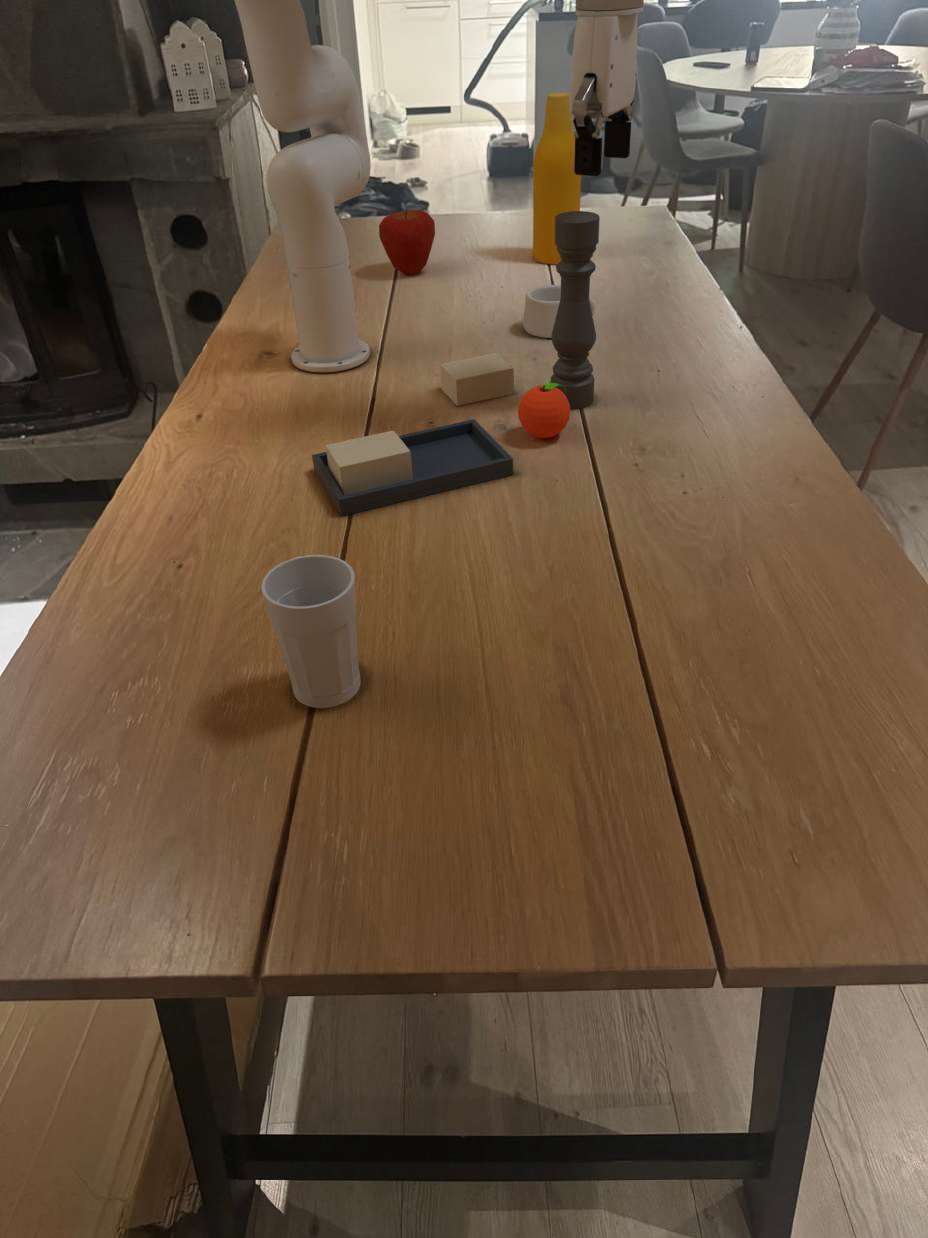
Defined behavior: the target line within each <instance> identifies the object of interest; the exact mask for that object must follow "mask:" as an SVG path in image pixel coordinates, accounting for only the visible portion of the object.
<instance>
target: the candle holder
mask: <svg viewBox="0 0 928 1238" xmlns="http://www.w3.org/2000/svg"><path fill="white" fill-rule="evenodd" d="M599 239H600V214H598V213H596V212H593V211H587V210H586V211H585V210H580V211H570V212H564V213H561V214H558V215H557V216H555V245H557V251H558V253H559V254H560V258H561V261H560V262H559V263H558V264H555V269H556V272H557V273H558V274H559V277H560V285H561V298H560V302H559V306H558V310H557V314H556V318H555V322H554V326H553V330H552V338H551V341H552V346H553V348H554V349H555V351H556V352H557V353H556V355H557V358H558V359H557V360H556V362H555V363H554V365H553V366H552V373H553V374H552V375H551V376H550V383H557V384H560V385H559V386H556V388H558V389H559V390H561V391H562V392H563V393H564V394H565V396H566V397H567V400H568V402H569V404H570V410H579V409H584V408H587V407H589V406H591V405H593V404H592V403H594V400H595V399H594V397H595V395H594V394H595V375H594V374H593V372H594V367H593V365H592V363H591V362H590V359H588V357H589V356H590V351H591V350H592V349H593V347H594V345H595V343H596V340H597V332H596V327H595V322H594V315H593V316H592V311H591V305H590V300H589V298H590V289H591V288H590V287H591V277H592V274H593V273H594V272H595V271H596V269H597V268H596V267H597V266H596V263H595V262H594V261H592V258H593V256H594V253H595V252H596V250H597V245H598V244H599V243H600V242H599ZM561 385H562V386H564V387H565V388H566V392H567V394H566V392H565V390H564V388H563V387H562V386H561Z"/></svg>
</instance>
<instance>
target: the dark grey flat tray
mask: <svg viewBox="0 0 928 1238" xmlns="http://www.w3.org/2000/svg"><path fill="white" fill-rule="evenodd" d="M398 436H399V438H400V439H401V440H402V441H403V443H404V444H405V445H406V446H407V448H408V449H409V450H410V452H411V464H412V475H413V479H412V480H407V481H403V482H399V483H395V484H390V485H386V486H382V487H378V488H373V489H369V490H365V491H361V492H356V493H352V494H348V495H344V496H343V494H342V492H341V491H340V489H339V487H338V486H337V484H336V483H335V481H334V479H333V478H332V476H331V474H330V472H329V465H328V459H327V452H326V451H323V452H319V453H314V454H312V455H311V458H312V465H313V471H314V473H315V474H316V476H317V478H318V479H319V481H320V483H321V484H322V487H323V488H324V489H325V491H326V493H327V494H328V497H329V498H330V500H331V501H332V503H333V505H334V506H335V508H336V510H337V511H338V513H339V515H340V516H341V517H344V516H348V515H352V514H358V513H361V512H365V511H369V510H373V509H377V508H381V507H385V506H390V505H394V504H398V503H402V502H403V503H404V502H407V501H409V500H416V499H420V498H424V497H428V496H431V495H436V494H440V493H443V492H447V491H452V490H456V489H459V488H460V489H461V488H465V487H468V486H472V485H477V484H481V483H485V482H488V481H493V480H497V479H501V478H506V477H510V476H513V475H514V458H513V456H511V455H510V454H509V452H507V451H506V450H505V449H504V448H503V446H501V445H500V444H499V443H498V441H496V439H495V438H493V437H492V435H491V434H489V432H488V431H486V429H485V428H484V427H482V425H481V424H480V423H479V422H478V421H477V420H476V419H475V418H473V419H469V420H464V421H460V422H454V423H451V424H447V425H442V426H436V427H432V428H428V429H423V430H419V431H414V432H410V433H405V434H402V435H401V434H400V435H398Z"/></svg>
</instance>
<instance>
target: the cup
mask: <svg viewBox="0 0 928 1238" xmlns="http://www.w3.org/2000/svg"><path fill="white" fill-rule="evenodd" d="M261 593H262V595H263V599H264V602H265V605H266V608H267V610H268V614H269V617H270V620H271V622H272V625H273V629H274V632H275V635H276V638H277V639H276V640H277V641H278V644H279V645H278V646H279V647H280V651H281V654H282V657H283V661H284V664H285V666H286V670H287V674H288V677H289V679H290V683H291V687H292V693H293V696H294V697H295V699H296V700H297V701H298V702H299V703H301V704H302V705H304V706H307V707H310V708H315V709H328V708H334V707H337V706H340V705H342V704H345V703H347V702H348V701H350V700H351V699H353V698H354V696H356V694H357V693H358V692H359V690H360V688H361V683H362V682H361V674H360V667H359V653H358V651H359V650H358V633H357V617H356V616H357V615H356V614H357V613H356V609H357V602H356V601H357V600H356V575H355V571H354V569H353V567H352V566H351V565H350V564H349V563H348V562H347V561H345V560H343V559H341V558H339V557H336V556H333V555H327V554H307V555H306V554H305V555H300V556H296V557H293V558H289V559H287V560H285V561H282V562H281V563H279V564H277V565H276V566H274V567H272V568H271V569H269V571H268V572H267V573H266V574H265V576H264V577H263V579H262V582H261Z"/></svg>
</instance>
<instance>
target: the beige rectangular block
mask: <svg viewBox="0 0 928 1238" xmlns="http://www.w3.org/2000/svg"><path fill="white" fill-rule="evenodd" d="M514 368H515V367H513V366H512V365H511V364H510V363H508V361H506V360H505V359H504V358H502V356H500V355H499V354H498V353H496V352H494V353H488V354H484V355H479V356H478V355H477V356H475V357H474V356H473V357H468V358H464V359H458V360H453V361H448V362H444V363H443V362H442V363H440V364H439V371H440V386H441V387H440V389H441V391H442V392H443V393H444V395H446V396H447V397H448V398H449V399H450V400H451V401H452V402H453V403H454V404H455V405H456V406H457V407H458V406H463V405H468V404H473V403H478V402H482V401H486V400H492V399H496V398H500V397H506V396H510V395H513V394H514V393H515V371H514V370H515V369H514Z"/></svg>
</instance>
